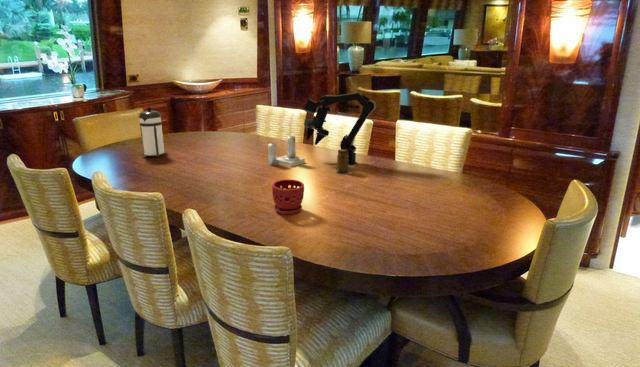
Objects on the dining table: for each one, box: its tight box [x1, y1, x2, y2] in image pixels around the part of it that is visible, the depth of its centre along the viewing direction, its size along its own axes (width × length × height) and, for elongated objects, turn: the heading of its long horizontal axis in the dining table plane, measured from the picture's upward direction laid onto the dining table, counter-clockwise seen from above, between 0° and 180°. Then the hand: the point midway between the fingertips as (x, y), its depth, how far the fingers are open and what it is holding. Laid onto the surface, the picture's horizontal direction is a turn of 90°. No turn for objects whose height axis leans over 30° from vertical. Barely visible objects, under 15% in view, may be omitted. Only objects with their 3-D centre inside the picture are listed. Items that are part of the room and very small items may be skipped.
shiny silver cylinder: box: [286, 135, 297, 159], centre depth 265 cm, size 5×5×12 cm
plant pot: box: [271, 179, 305, 215], centre depth 193 cm, size 13×13×12 cm
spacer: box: [267, 142, 278, 167], centre depth 263 cm, size 5×5×12 cm
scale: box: [277, 154, 306, 168], centre depth 268 cm, size 14×12×3 cm
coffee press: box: [138, 106, 167, 159], centre depth 281 cm, size 17×16×30 cm
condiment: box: [333, 148, 353, 175], centre depth 248 cm, size 7×8×12 cm
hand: (311, 142), depth 267 cm, fingers open, 9 cm apart
